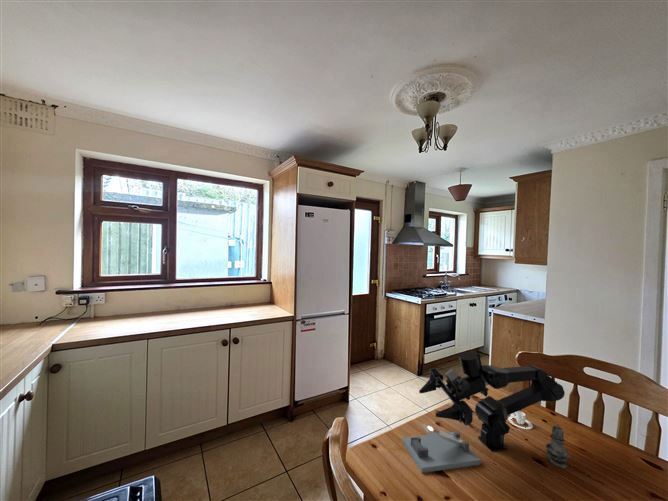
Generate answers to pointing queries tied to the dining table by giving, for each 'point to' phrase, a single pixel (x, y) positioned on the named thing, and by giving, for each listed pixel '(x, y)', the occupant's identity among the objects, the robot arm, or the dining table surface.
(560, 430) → the grey tiered tower figurine
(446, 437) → the light grey long bar
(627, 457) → the dining table surface
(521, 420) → the teacup and saucer
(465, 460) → the base plate
